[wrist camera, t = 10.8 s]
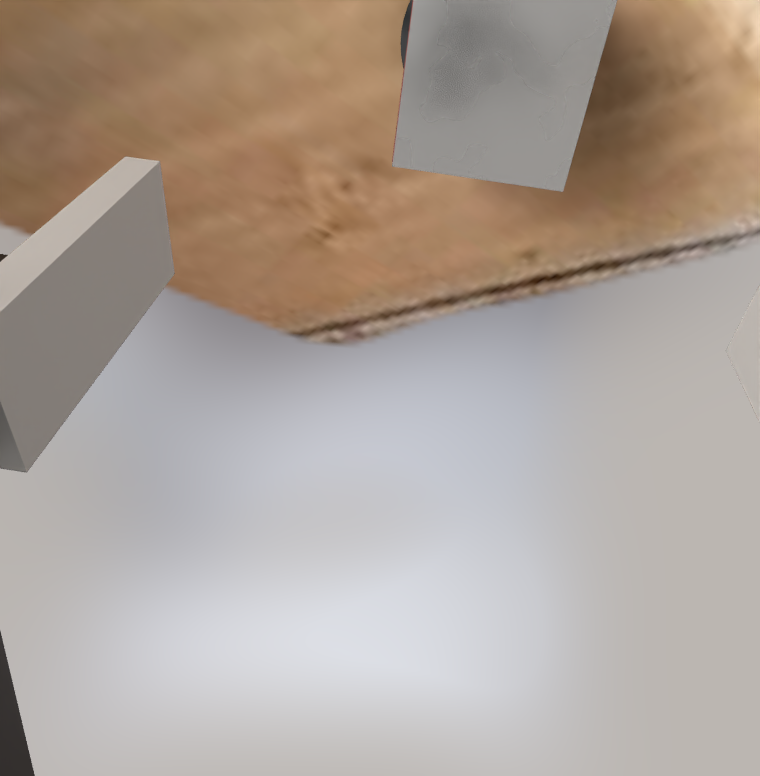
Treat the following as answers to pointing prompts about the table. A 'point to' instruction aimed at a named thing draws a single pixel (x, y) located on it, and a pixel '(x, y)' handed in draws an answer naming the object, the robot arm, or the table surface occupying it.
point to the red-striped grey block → (499, 87)
